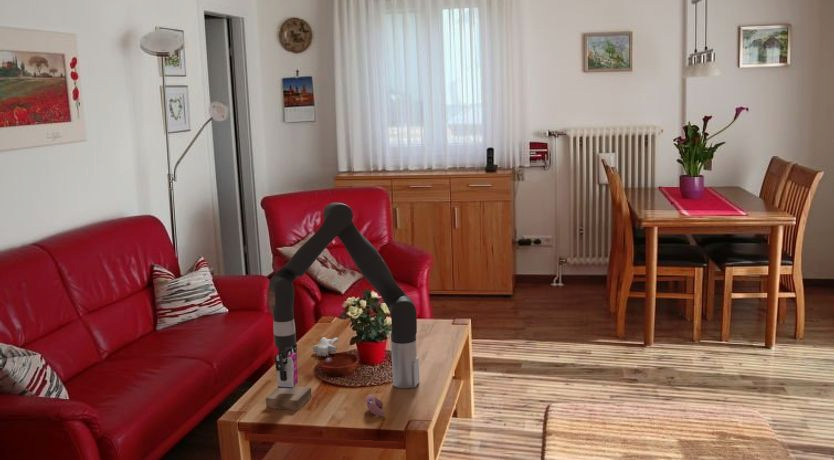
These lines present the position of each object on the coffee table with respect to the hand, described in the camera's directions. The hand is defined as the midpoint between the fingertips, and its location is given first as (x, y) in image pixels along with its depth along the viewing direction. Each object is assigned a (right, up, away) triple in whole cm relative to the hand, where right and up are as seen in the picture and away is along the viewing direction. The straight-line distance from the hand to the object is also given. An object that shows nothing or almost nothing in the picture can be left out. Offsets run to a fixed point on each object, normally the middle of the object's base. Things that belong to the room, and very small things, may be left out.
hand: (287, 377), depth 298 cm
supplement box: (0, -3, +1) cm, 3 cm away
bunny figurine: (+8, +1, +53) cm, 54 cm away
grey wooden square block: (0, -10, +2) cm, 10 cm away
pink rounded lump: (+31, -11, -9) cm, 34 cm away
